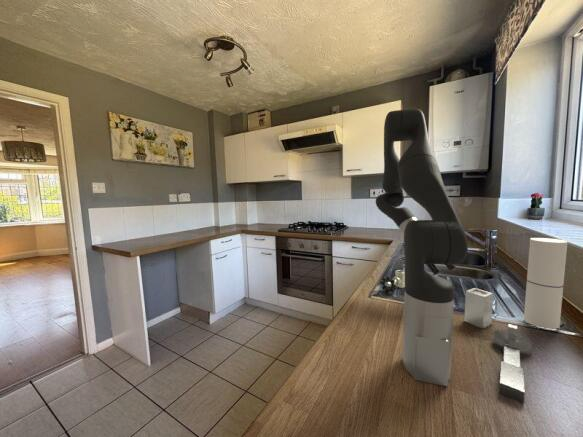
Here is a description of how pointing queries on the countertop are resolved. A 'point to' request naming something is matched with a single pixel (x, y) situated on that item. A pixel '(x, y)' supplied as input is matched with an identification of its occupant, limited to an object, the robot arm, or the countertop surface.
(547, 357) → the countertop surface
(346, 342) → the countertop surface
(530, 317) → the cylindrical container
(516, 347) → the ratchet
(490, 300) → the socket
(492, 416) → the countertop surface
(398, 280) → the valve
